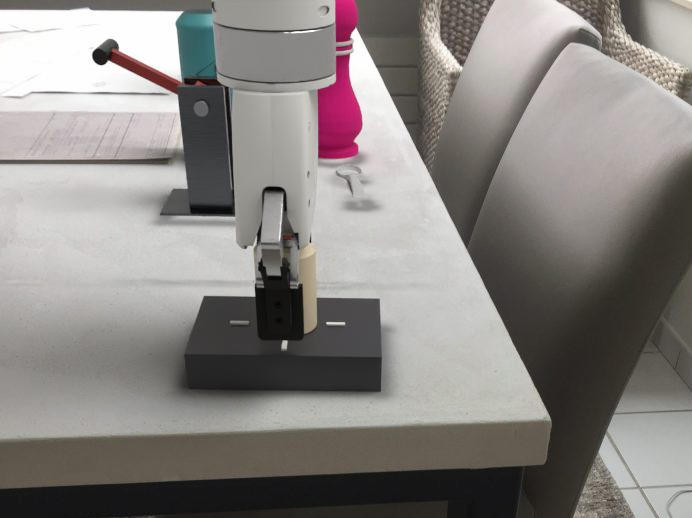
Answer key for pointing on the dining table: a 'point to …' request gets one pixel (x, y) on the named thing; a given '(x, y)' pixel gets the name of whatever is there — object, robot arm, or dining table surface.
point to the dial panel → (285, 349)
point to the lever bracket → (205, 150)
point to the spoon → (353, 180)
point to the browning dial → (305, 282)
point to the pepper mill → (340, 93)
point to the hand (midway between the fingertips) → (286, 308)
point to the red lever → (134, 65)
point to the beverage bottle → (197, 44)
